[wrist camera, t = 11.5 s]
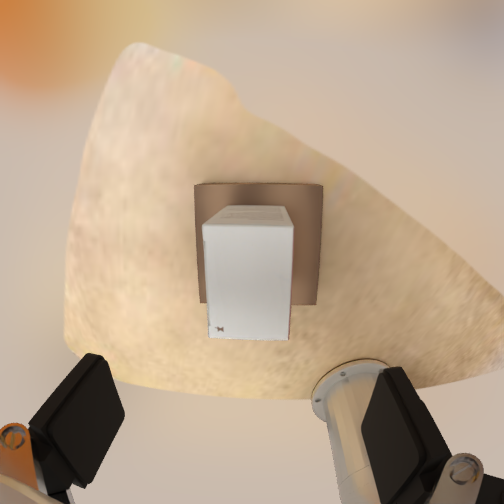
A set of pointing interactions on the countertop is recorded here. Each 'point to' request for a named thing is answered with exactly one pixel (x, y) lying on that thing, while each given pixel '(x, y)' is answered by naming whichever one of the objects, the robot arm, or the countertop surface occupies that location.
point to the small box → (249, 272)
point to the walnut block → (272, 194)
